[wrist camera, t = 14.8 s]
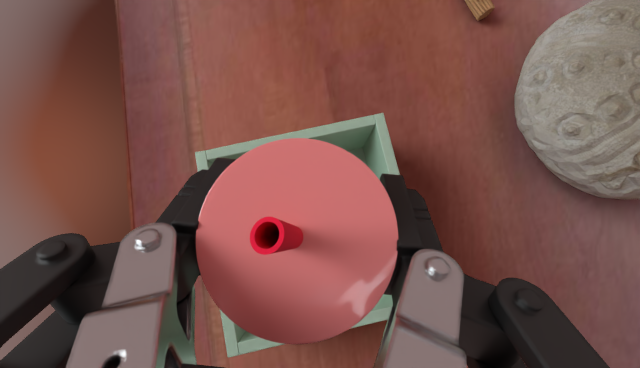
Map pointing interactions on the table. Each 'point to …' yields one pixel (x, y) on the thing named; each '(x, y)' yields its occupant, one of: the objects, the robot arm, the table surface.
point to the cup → (297, 241)
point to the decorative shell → (586, 98)
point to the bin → (352, 135)
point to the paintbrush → (480, 8)
